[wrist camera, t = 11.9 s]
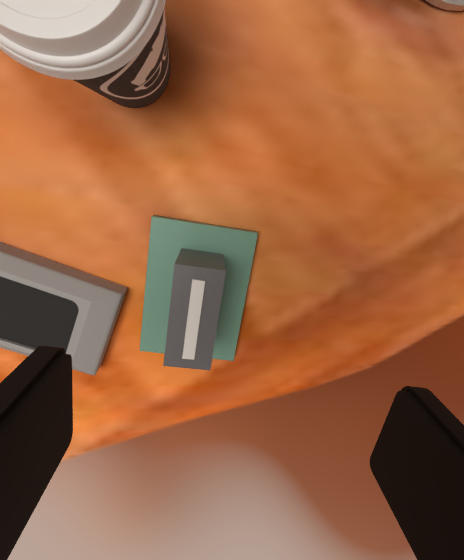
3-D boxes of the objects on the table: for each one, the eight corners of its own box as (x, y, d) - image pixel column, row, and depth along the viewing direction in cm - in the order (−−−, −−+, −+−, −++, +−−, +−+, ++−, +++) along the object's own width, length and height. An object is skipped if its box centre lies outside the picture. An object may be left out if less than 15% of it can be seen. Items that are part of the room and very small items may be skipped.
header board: (153, 215, 29) (143, 220, 25) (256, 231, 30) (264, 239, 26) (141, 345, 33) (131, 370, 29) (232, 354, 34) (236, 380, 30)
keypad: (90, 382, 30) (-76, 333, 28) (102, 362, 34) (-44, 317, 31) (118, 298, 28) (-60, 236, 25) (129, 286, 32) (-27, 230, 29)
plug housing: (181, 248, 29) (174, 264, 23) (222, 254, 30) (226, 271, 24) (171, 332, 32) (162, 367, 26) (210, 337, 32) (210, 371, 26)
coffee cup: (160, -27, 24) (88, -344, 9) (205, 104, 27) (201, 13, 12) (48, 19, 24) (-186, -220, 10) (104, 143, 27) (-14, 98, 13)
